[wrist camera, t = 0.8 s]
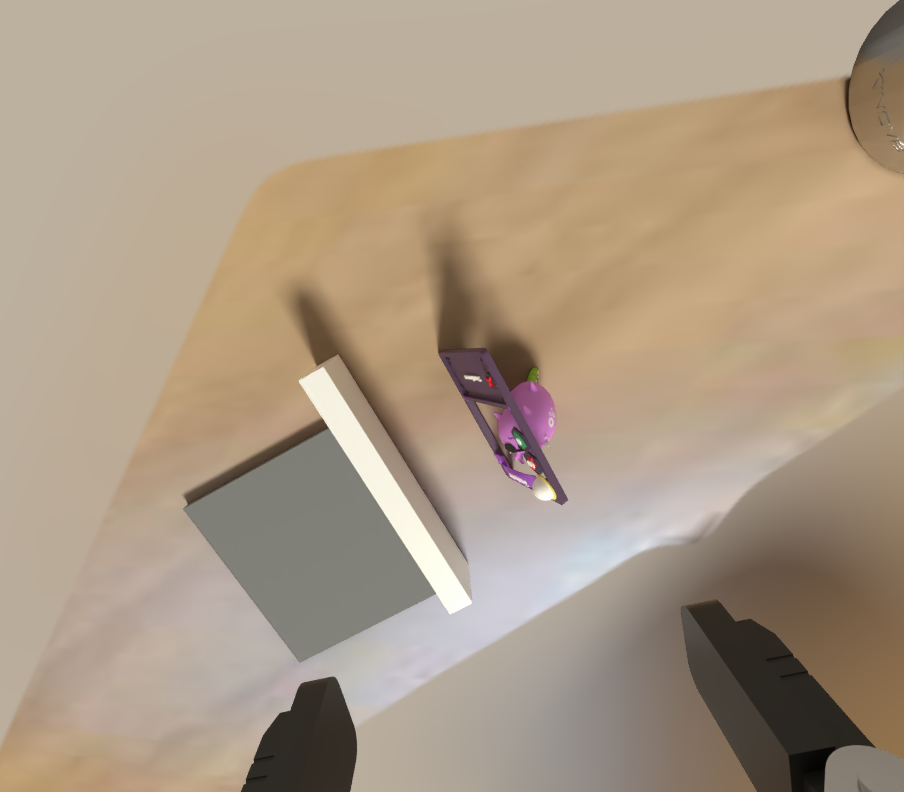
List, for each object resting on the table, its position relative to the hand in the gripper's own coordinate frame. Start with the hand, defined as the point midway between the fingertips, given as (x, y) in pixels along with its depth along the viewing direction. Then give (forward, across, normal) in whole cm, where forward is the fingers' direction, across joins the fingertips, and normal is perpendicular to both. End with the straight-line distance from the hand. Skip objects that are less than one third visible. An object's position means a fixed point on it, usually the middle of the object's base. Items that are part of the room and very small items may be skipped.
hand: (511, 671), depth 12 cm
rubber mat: (+20, +12, +6) cm, 24 cm away
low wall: (+20, +5, +2) cm, 21 cm away
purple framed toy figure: (+20, -2, 0) cm, 21 cm away
